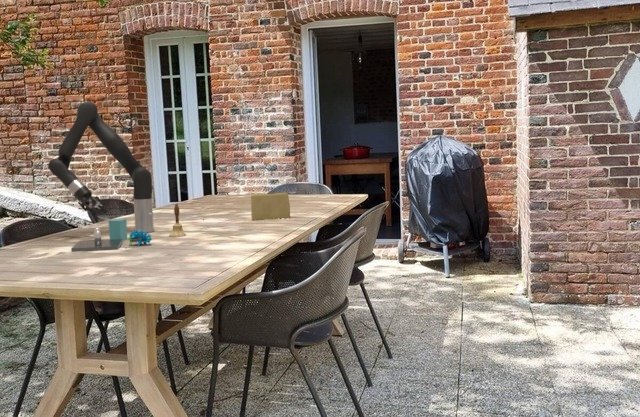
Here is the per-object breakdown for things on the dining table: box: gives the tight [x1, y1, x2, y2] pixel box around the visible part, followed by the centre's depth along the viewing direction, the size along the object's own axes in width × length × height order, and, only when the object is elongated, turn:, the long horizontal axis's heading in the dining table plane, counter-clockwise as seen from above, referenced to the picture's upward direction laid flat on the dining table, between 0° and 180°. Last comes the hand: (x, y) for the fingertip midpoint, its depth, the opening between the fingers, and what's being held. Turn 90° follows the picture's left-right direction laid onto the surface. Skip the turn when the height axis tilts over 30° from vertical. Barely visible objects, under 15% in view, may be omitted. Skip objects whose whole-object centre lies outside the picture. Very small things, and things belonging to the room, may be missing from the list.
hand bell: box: [169, 203, 187, 238], centre depth 351 cm, size 8×8×16 cm
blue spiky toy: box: [127, 229, 152, 247], centre depth 325 cm, size 11×6×10 cm
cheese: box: [250, 192, 291, 221], centre depth 405 cm, size 22×10×15 cm, turn 94°
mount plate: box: [70, 227, 124, 252], centre depth 323 cm, size 20×20×9 cm
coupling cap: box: [108, 218, 128, 241], centre depth 341 cm, size 6×6×10 cm
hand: (101, 214), depth 343 cm, fingers open, 8 cm apart
